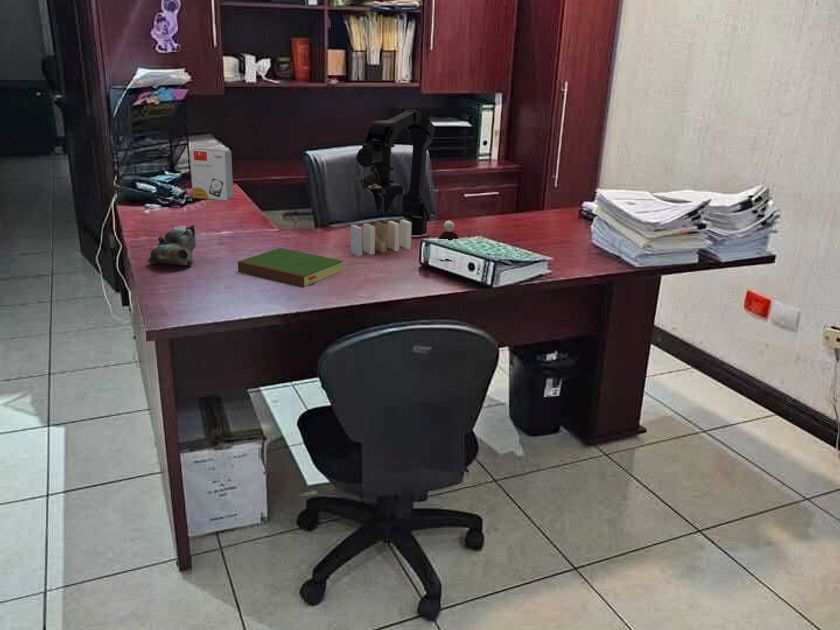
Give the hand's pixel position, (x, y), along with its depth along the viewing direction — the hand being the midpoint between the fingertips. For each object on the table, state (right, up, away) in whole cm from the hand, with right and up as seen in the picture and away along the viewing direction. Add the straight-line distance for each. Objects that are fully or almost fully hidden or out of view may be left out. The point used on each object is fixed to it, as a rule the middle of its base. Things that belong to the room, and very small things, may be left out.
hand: (381, 211), depth 237 cm
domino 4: (+4, -11, +7) cm, 14 cm away
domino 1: (-8, -14, 0) cm, 16 cm away
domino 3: (0, -12, +5) cm, 13 cm away
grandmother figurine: (+21, -16, -3) cm, 27 cm away
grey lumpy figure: (-62, -18, -16) cm, 66 cm away
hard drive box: (-75, +16, +74) cm, 106 cm away
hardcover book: (-26, -21, -19) cm, 38 cm away
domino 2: (-4, -13, +2) cm, 14 cm away
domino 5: (+7, -11, +9) cm, 16 cm away
